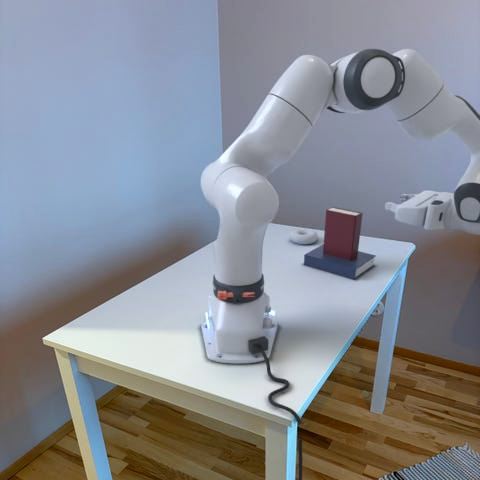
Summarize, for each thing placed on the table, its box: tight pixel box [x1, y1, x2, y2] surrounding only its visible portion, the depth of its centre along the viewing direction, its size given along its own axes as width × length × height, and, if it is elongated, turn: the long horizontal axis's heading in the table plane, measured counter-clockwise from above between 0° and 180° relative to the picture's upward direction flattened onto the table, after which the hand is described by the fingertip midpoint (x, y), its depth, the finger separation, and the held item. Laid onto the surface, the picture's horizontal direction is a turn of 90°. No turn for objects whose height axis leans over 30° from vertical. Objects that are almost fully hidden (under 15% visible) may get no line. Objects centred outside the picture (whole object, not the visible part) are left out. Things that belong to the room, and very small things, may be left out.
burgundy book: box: [323, 206, 364, 261], centre depth 142 cm, size 4×10×14 cm, turn 50°
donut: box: [289, 228, 319, 245], centre depth 166 cm, size 10×4×10 cm
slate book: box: [303, 243, 377, 280], centre depth 147 cm, size 13×18×4 cm
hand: (393, 201), depth 128 cm, fingers open, 8 cm apart
